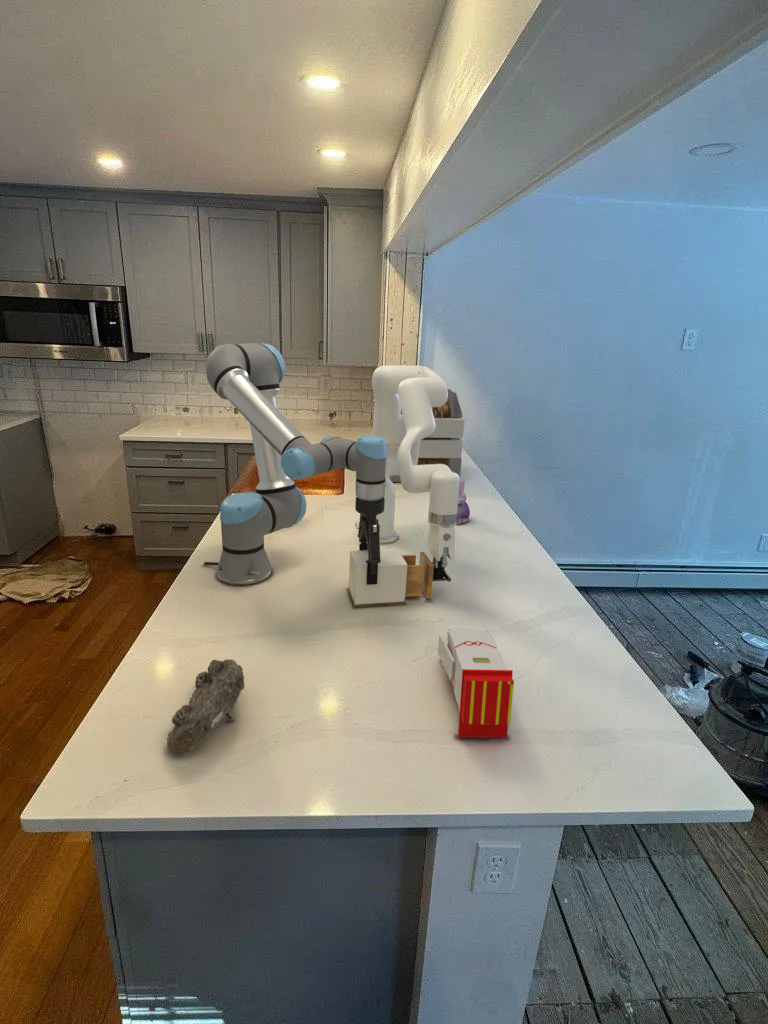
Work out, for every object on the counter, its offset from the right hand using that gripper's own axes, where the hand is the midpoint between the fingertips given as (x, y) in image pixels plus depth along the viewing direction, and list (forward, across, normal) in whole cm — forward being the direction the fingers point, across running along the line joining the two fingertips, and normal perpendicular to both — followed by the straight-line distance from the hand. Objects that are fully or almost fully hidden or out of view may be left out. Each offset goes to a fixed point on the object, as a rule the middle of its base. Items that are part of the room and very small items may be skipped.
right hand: (437, 578), depth 158 cm
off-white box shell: (+4, 0, +17) cm, 18 cm away
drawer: (+3, 0, +6) cm, 7 cm away
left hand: (-3, 0, +20) cm, 20 cm away
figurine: (+4, +55, -26) cm, 61 cm away
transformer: (+4, +120, -28) cm, 123 cm away
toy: (+5, -43, +6) cm, 44 cm away
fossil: (+5, -43, +58) cm, 72 cm away
